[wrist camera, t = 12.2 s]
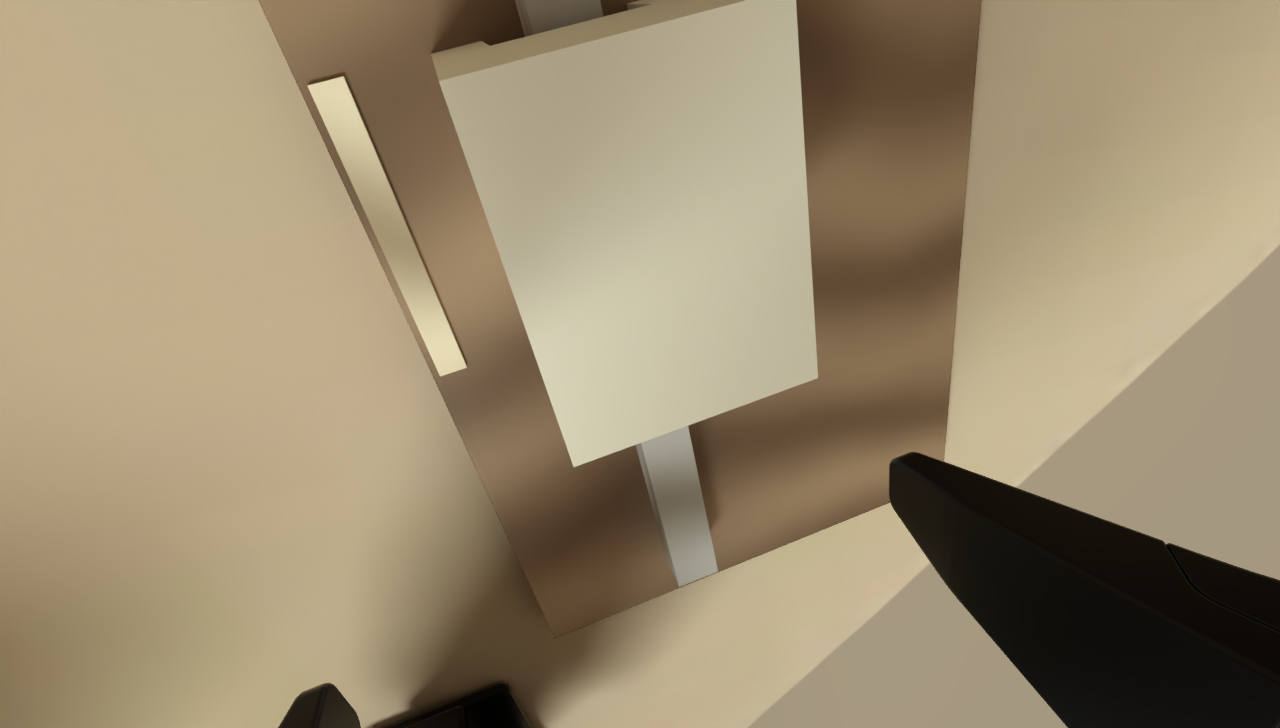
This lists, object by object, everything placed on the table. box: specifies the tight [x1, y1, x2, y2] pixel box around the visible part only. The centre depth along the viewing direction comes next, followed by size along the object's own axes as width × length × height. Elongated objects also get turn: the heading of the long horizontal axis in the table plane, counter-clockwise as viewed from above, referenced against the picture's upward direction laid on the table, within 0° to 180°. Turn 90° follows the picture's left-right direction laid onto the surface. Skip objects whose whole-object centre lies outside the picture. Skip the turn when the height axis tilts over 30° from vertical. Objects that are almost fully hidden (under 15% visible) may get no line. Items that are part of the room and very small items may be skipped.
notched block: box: [431, 0, 818, 467], centre depth 15 cm, size 8×6×6 cm
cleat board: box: [258, 0, 981, 638], centre depth 20 cm, size 24×18×3 cm
